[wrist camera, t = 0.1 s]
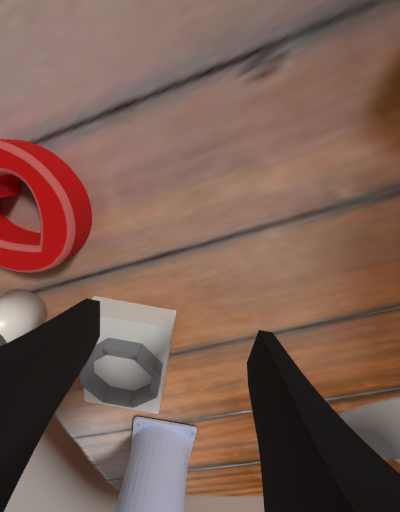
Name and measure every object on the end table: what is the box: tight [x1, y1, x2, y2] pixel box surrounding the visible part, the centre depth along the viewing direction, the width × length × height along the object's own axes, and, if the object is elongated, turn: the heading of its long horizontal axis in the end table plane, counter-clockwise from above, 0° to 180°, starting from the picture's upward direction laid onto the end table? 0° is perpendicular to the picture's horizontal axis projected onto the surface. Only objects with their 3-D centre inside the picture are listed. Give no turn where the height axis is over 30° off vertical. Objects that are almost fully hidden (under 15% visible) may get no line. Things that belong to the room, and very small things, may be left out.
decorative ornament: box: [0, 139, 92, 273], centre depth 18 cm, size 10×10×3 cm
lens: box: [0, 289, 48, 346], centre depth 21 cm, size 4×4×5 cm
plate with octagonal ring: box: [79, 296, 176, 414], centre depth 23 cm, size 12×8×4 cm, turn 170°
